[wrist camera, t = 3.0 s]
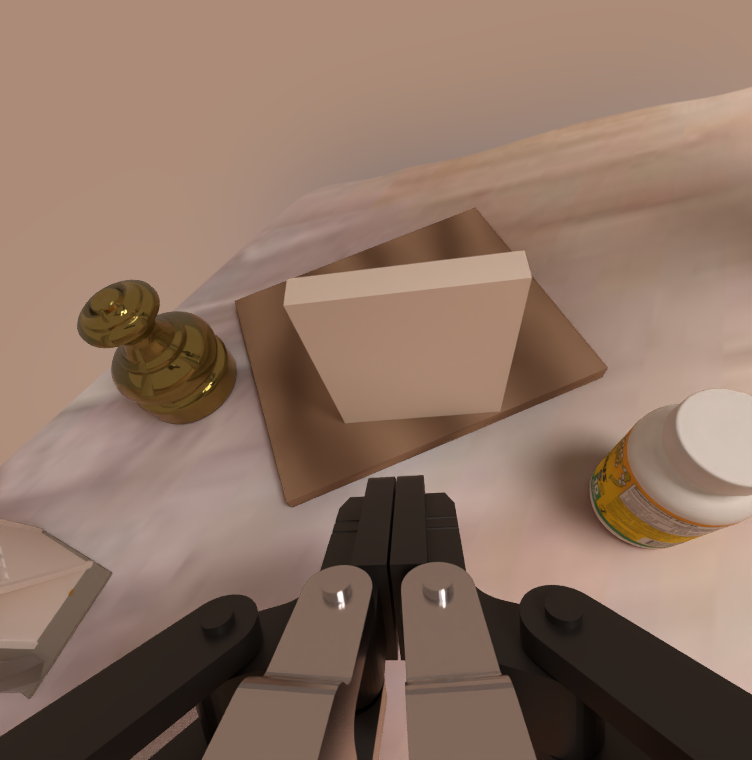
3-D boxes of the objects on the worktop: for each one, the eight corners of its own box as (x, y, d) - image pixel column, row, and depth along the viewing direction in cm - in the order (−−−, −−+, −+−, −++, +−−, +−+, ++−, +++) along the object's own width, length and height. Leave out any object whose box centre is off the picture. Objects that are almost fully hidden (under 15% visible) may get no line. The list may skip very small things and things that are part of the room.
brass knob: (185, 334, 36) (101, 243, 27) (256, 357, 33) (189, 265, 25) (129, 408, 33) (15, 332, 24) (204, 439, 30) (106, 367, 22)
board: (474, 219, 37) (475, 207, 36) (602, 377, 28) (607, 367, 27) (240, 310, 36) (234, 301, 35) (292, 507, 27) (286, 502, 26)
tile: (496, 390, 27) (524, 249, 17) (500, 411, 26) (531, 277, 16) (345, 402, 28) (287, 277, 18) (345, 423, 28) (283, 305, 17)
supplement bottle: (654, 572, 22) (777, 543, 14) (566, 498, 24) (625, 436, 16) (711, 500, 23) (854, 434, 15) (621, 437, 26) (702, 350, 18)
